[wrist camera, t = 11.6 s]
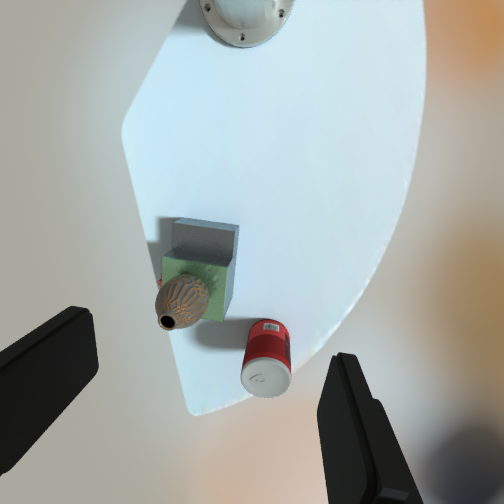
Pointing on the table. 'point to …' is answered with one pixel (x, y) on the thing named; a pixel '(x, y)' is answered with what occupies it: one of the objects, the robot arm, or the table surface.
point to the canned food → (267, 360)
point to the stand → (204, 260)
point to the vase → (181, 302)
